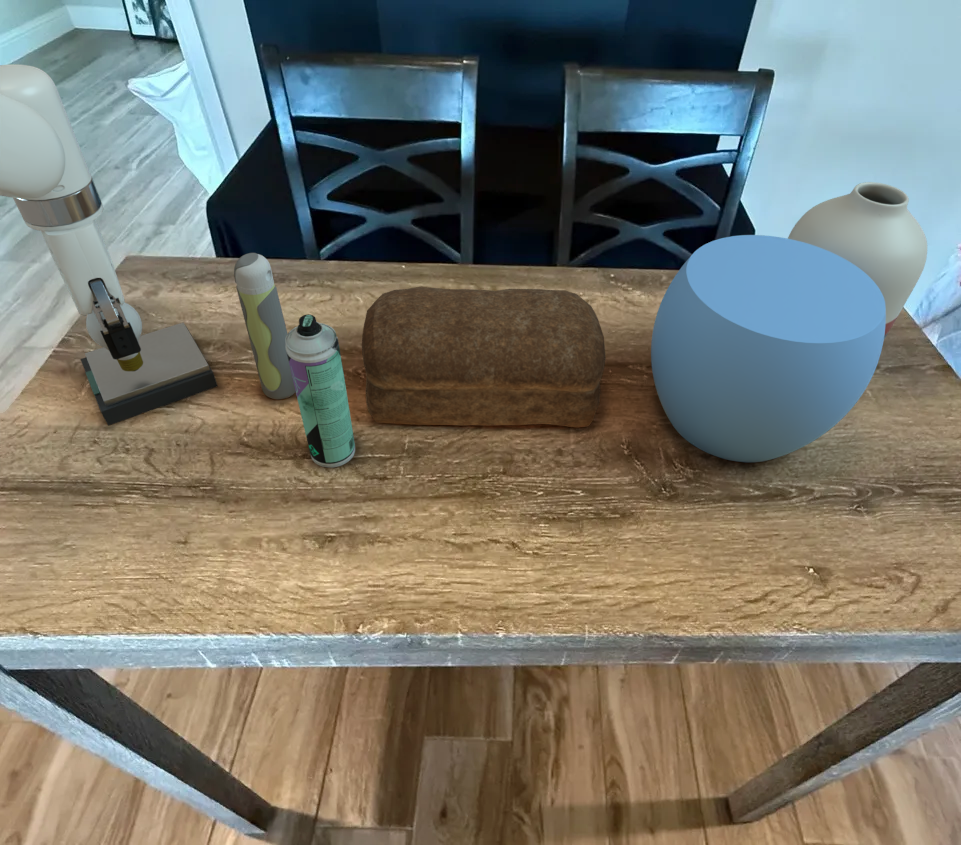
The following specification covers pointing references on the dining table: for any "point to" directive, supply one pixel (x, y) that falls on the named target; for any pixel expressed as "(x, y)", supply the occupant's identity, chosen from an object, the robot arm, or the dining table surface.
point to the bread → (482, 357)
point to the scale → (149, 375)
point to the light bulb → (94, 329)
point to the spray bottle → (264, 324)
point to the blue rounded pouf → (764, 345)
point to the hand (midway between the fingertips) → (120, 338)
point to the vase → (871, 239)
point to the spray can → (321, 391)
